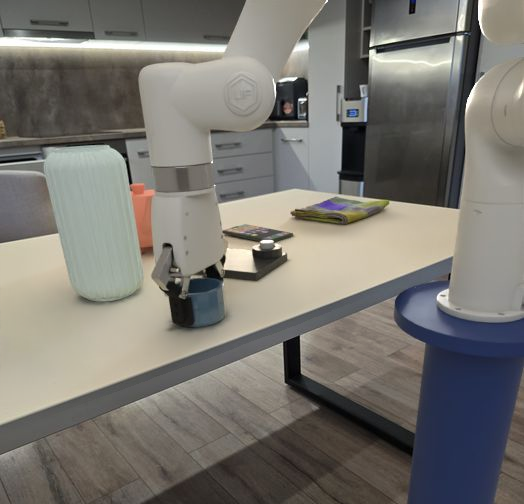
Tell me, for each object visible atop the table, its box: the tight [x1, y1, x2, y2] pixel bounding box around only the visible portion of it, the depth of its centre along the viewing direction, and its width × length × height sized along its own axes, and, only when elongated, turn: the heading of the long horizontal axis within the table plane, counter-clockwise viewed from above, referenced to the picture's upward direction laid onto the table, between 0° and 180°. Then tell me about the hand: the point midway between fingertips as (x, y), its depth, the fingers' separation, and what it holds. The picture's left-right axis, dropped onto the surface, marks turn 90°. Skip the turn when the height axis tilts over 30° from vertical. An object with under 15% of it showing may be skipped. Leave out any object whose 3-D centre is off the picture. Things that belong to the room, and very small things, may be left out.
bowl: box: [175, 276, 227, 328], centre depth 66 cm, size 7×7×5 cm
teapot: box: [129, 182, 155, 255], centre depth 101 cm, size 16×17×14 cm
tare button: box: [259, 240, 275, 249], centre depth 89 cm, size 3×3×1 cm
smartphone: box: [222, 223, 294, 243], centre depth 110 cm, size 8×15×1 cm, turn 48°
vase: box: [43, 144, 145, 303], centre depth 74 cm, size 12×12×22 cm
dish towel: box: [290, 196, 390, 225], centre depth 128 cm, size 18×24×3 cm
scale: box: [178, 242, 288, 282], centre depth 89 cm, size 16×13×3 cm
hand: (199, 312), depth 67 cm, fingers closed on bowl, 7 cm apart
